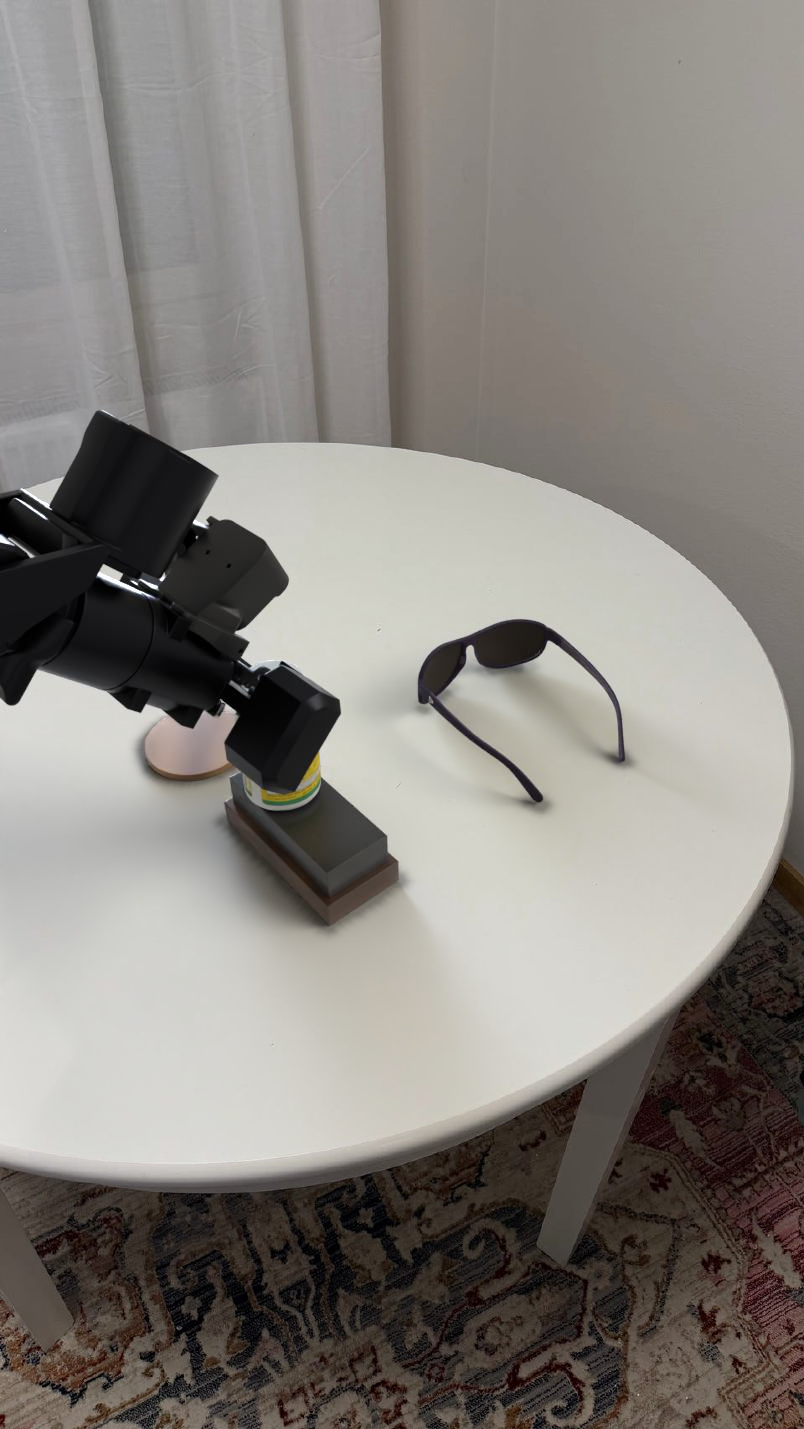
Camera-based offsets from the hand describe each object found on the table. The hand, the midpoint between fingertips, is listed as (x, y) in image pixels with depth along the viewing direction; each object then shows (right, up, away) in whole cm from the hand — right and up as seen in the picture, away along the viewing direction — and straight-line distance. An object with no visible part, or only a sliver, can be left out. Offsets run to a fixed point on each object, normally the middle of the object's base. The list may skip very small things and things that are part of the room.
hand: (292, 705), depth 66 cm
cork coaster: (-9, -3, +14) cm, 17 cm away
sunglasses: (+17, -2, +15) cm, 23 cm away
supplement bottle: (-1, -6, +4) cm, 7 cm away
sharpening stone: (+1, -10, +5) cm, 12 cm away
